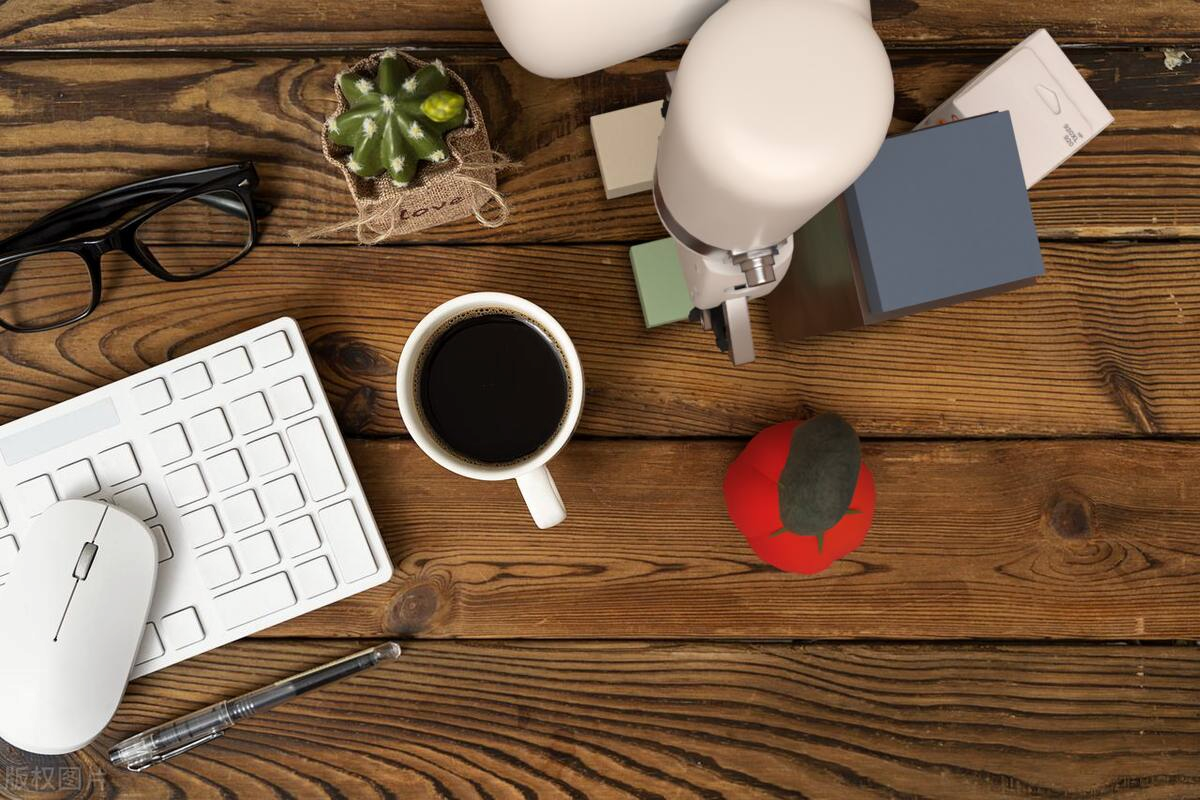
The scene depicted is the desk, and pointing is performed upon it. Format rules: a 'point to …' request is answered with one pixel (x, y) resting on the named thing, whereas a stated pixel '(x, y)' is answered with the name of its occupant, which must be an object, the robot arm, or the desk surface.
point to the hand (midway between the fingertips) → (694, 242)
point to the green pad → (660, 282)
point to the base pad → (943, 214)
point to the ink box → (1032, 104)
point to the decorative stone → (819, 474)
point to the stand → (840, 279)
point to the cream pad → (627, 147)
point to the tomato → (758, 508)
